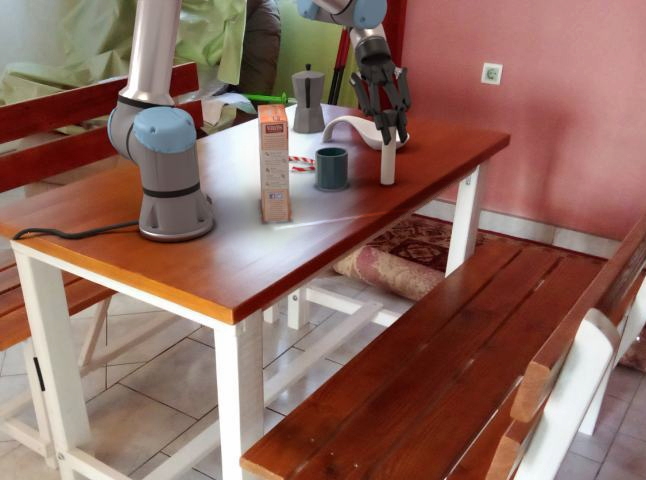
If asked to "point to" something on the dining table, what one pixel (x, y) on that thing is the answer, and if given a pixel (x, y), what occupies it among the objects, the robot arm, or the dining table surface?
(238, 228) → the dining table surface
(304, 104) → the coffeepot
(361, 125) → the spoon rest
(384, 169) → the marker
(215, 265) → the dining table surface
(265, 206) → the cracker box
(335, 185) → the pen holder
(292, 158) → the candy cane
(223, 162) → the dining table surface
